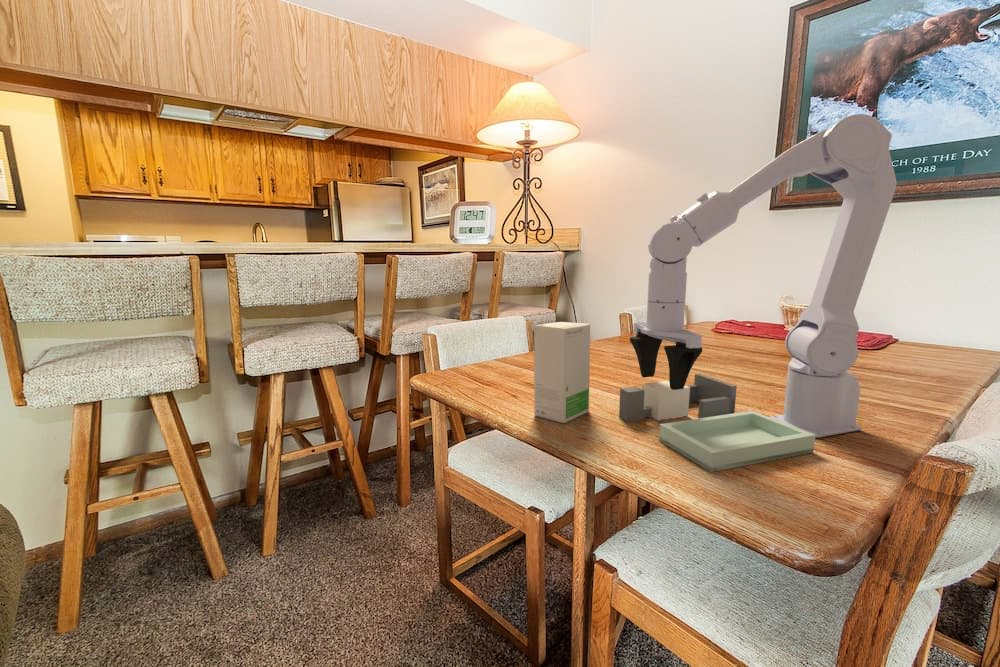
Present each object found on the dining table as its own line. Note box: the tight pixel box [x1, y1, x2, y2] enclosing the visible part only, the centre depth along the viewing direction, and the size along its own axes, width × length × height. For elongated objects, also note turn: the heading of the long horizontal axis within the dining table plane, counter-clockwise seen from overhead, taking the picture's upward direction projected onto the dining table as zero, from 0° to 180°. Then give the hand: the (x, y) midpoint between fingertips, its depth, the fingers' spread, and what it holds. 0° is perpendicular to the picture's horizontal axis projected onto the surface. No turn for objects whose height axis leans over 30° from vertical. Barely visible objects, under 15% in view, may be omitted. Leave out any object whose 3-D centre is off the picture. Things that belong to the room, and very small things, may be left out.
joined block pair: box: [618, 380, 690, 423], centre depth 73 cm, size 11×4×5 cm, turn 107°
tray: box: [658, 410, 816, 473], centre depth 61 cm, size 17×10×2 cm, turn 107°
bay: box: [685, 373, 737, 419], centre depth 75 cm, size 6×8×5 cm
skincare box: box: [533, 321, 591, 424], centre depth 73 cm, size 8×7×16 cm
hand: (661, 382), depth 73 cm, fingers open, 7 cm apart
